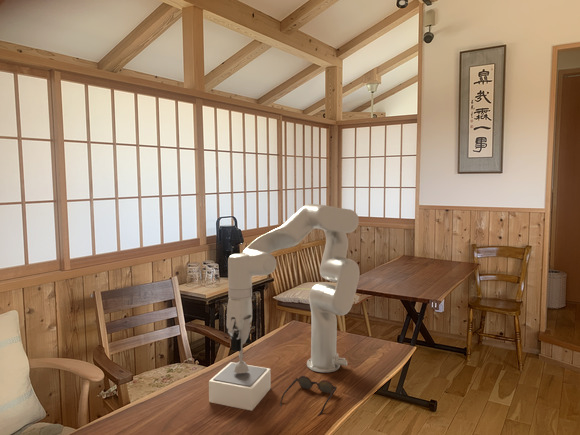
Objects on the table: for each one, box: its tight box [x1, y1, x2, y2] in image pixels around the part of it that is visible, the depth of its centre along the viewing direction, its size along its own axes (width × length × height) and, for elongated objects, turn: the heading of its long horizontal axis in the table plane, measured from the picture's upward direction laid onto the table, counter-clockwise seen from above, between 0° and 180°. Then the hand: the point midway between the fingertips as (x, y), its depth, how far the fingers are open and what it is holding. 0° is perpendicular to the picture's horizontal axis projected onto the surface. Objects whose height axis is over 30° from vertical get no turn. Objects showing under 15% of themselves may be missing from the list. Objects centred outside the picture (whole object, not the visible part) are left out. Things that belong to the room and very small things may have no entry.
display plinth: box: [208, 361, 272, 411], centre depth 146 cm, size 15×15×7 cm
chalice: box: [233, 314, 253, 373], centre depth 145 cm, size 7×7×18 cm
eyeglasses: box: [279, 375, 337, 417], centre depth 143 cm, size 15×15×5 cm
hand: (240, 346), depth 145 cm, fingers closed on chalice, 6 cm apart
